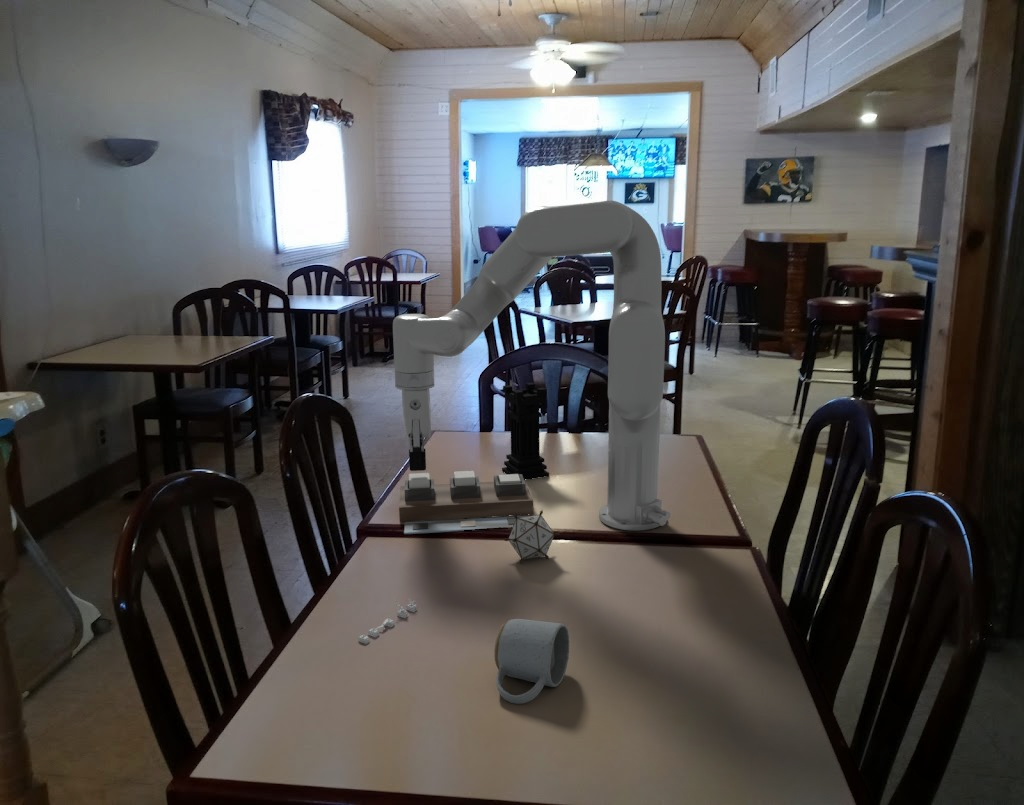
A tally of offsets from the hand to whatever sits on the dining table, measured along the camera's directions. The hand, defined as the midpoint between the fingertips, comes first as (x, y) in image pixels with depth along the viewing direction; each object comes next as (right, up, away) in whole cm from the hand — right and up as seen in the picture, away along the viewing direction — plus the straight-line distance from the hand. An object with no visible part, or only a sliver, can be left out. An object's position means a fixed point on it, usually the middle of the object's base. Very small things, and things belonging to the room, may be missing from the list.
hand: (417, 469), depth 159 cm
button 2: (+18, -4, +3) cm, 19 cm away
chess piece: (+22, -3, +23) cm, 31 cm away
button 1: (0, -4, +1) cm, 4 cm away
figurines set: (0, -20, -41) cm, 46 cm away
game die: (+22, -14, -20) cm, 33 cm away
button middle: (+9, -3, +2) cm, 10 cm away
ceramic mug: (+21, -23, -56) cm, 64 cm away
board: (+10, -9, 0) cm, 13 cm away
